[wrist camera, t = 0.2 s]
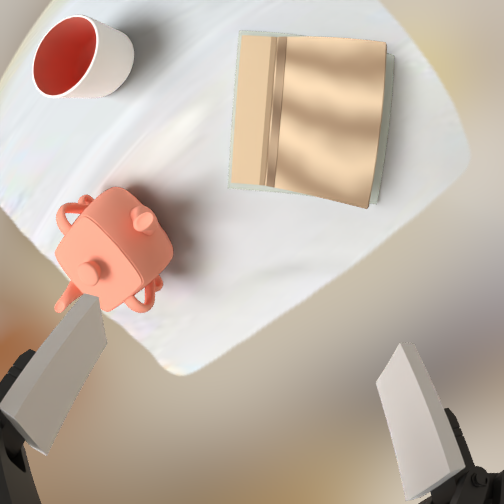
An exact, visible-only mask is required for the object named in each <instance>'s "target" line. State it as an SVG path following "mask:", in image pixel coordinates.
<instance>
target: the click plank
mask: <svg viewBox="0 0 504 504" xmlns="http://www.w3.org/2000/svg"><path fill="white" fill-rule="evenodd" d="M386 55H387V45H386V42H378V41H370V40H361V39H350V38H336V37H287V36H285V37H277V48H276V61H275V73H274V86H273V98H272V110H271V122H270V134H269V146H268V158H267V170H266V181H265V186H268V187H273V188H279V189H284V190H289V191H293V192H298V193H303V194H307V195H312V196H316V197H320V198H325V199H329V200H333V201H337V202H341V203H345V204H349V205H353V206H357V207H361V208H365V209H367V208H368V207H369V202H370V197H371V191H372V186H373V180H374V174H375V167H376V161H377V154H378V147H379V139H380V131H381V122H382V113H383V102H384V90H385V76H386Z"/></svg>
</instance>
